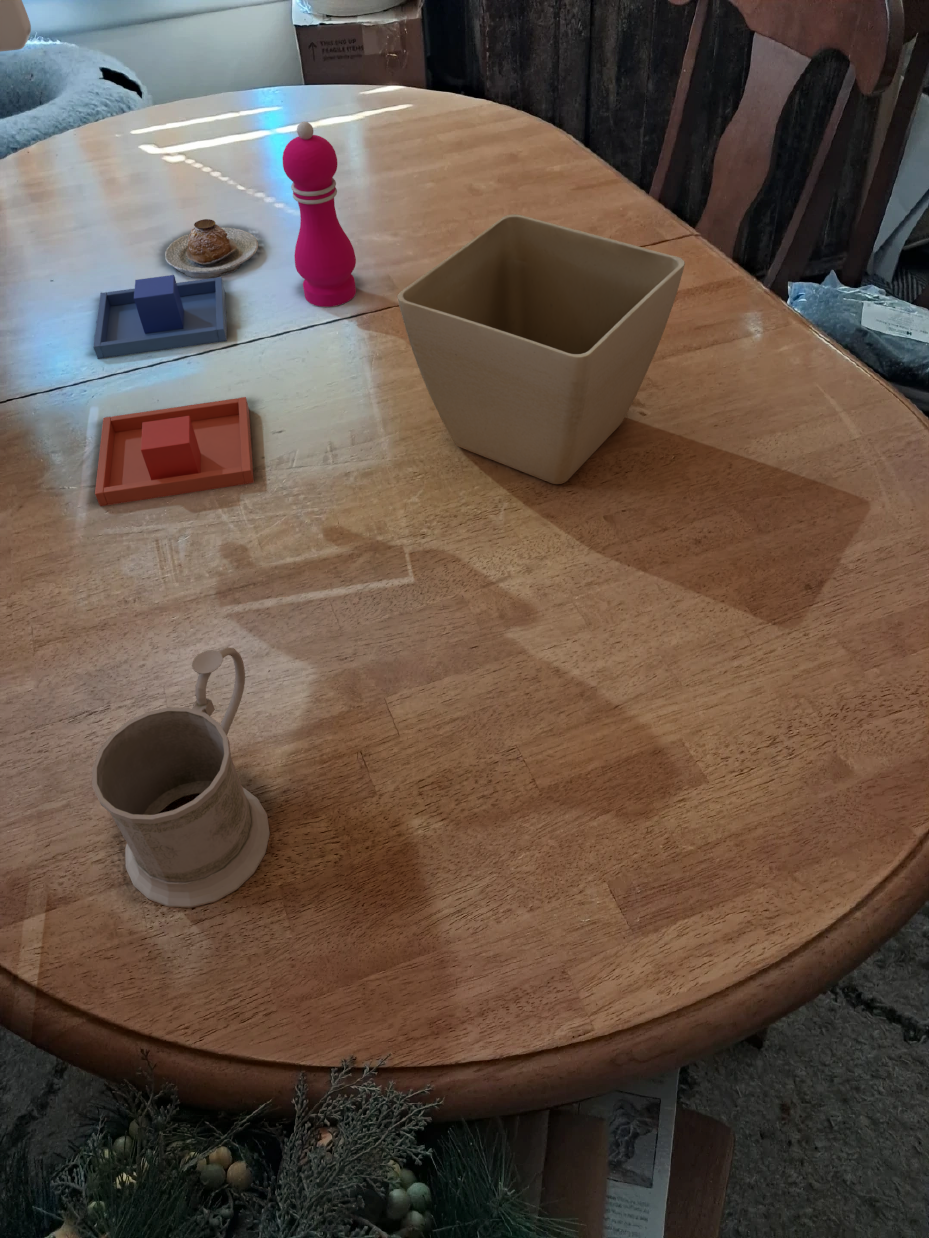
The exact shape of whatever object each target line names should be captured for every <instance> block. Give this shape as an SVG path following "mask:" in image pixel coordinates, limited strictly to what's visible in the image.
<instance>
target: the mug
mask: <svg viewBox="0 0 929 1238" xmlns="http://www.w3.org/2000/svg"><path fill="white" fill-rule="evenodd" d="M228 656H230V657H231V658H232V661H233V666H234V673H235V674H234V686H233V690H232V694H231V698H230V700H229V702H228V706H227V708H226V710H225V713H224V716H223V718H222V719H221V722H218V721H217V720H216V719H215V718H213V717H212V714H214V711H215V709H216V708H215V706H214V703H213V701H212V699H209V698H207V687H208V682H209V678H210V677H211V675H212V673H213V672H215V671H217V670H218V669H219V668H220V667H221V666H222V664H223V661H224V658H226V657H228ZM191 667H192V670H193V671H194V673H196V674H198V676H197V679H196V683H195V699H196V700H195V701H194V703H193V704H192V707H191V708H190V707H170V706H169V707H163V708H159V709H154V710H150V711H147V712H145V713H143V714H140V715H138V716H135V717H134V718H132V719H130V720H128V721H126V722H125V723H124V724H123V725H121V726H120V727H118V728H117V729H116V730H115V731H113V732H112V733H111V734H110V735H109V736H108V738H107V739H106V740H105V742H104V743H103V744H102V745H101V747H100V748H99V749H98V751H97V754H96V757H95V759H94V762H93V764H92V767H91V787H92V789H93V792H94V794H95V796H96V798H97V800H98V802H99V804H100V806H101V807H102V808H104V809H105V810H106V811H107V812H108V813H110V815H111V817H112V819H113V821H114V823H115V824H116V826H117V828H118V829H119V831H120V833H121V836H122V837H123V839H124V841H125V842H126V845H125V848H124V849H125V853H124V854H125V855H124V857H125V870H126V872H127V874H128V876H129V879H130V881H131V883H132V885H133V887H134V888H136V890H137V891H138V892H140V893H141V894H142V896H144V897H145V898H146V899H147V900H149V901H152V902H155V903H157V904H159V905H162V906H165V907H168V908H189V909H191V908H195V907H199V906H203V905H208V904H211V903H216V902H217V901H219V900H221V899H223V898H225V897H226V896H228V895H230V894H231V893H233V892H235V891H238V889H239V888H241V886H242V885H243V884H244V883H246V882H247V881H248V880H249V879H250V877H252V876H253V875H254V874H255V872H256V871H257V869H258V867H260V866H259V865H260V864H261V862H262V861H263V859H264V857H265V855H266V853H267V850H268V849H267V848H268V843H269V840H270V836H271V833H270V826H269V818H268V813H267V812H266V810H265V809H264V806H263V805H262V803H261V802H260V800H259V798H258V797H257V796H255V795H253V793H251V792H250V791H248V789H246V788H245V787H243V786H242V783H241V780H240V778H239V777H240V776H239V775H238V774H239V773H238V772H237V769H236V767H235V764H234V760H233V758H232V754H231V746H230V745H231V744H230V739H229V737H228V734H229V731H230V729H231V726H232V724H233V721H234V719H235V717H236V714H237V712H238V710H239V706H240V704H241V701H242V698H243V695H244V690H245V683H246V670H245V664H244V659H243V658H242V656H241V654H240V652H238V651H237V650H236V648H235V647H228V646H227V647H224V648H221V649H218V650H214V649H211V650H209V649H208V650H205V651H202V652H200V653H199V654H197V655H196V656H195V657H194V658H193V660H192V664H191ZM196 794H197V796H196V797H195V798H194V799H192V800H191V801H189V802H187V803H185V804H183V805H180V806H179V807H177V808H175V809H171V810H169V811H164V809H166V808H167V807H168V806H169V805H170V804H173V803H174V802H176V801H178V800H179V799H181V798H183V797H188V796H192V795H196ZM198 794H199V795H198ZM162 811H164V812H162Z"/></svg>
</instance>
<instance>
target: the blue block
mask: <svg viewBox="0 0 929 1238" xmlns="http://www.w3.org/2000/svg"><path fill="white" fill-rule="evenodd" d="M177 283H178V282H177V280H176V277H175V274H171V275H170V274H169V275H162V276H155V277H147V278H140V279H135V280H134V289H135V290H134V301H135V304H136V308H137V311H138V314H139V317H140V320H141V323H142V327H143V330H144V333H145V334H146V333H153V332H161V331H168V330H175V329H182V328H183V322H184V309H183V305H182V301H181V298H180V294H179V291H178V287H177Z"/></svg>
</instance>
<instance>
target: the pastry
mask: <svg viewBox="0 0 929 1238" xmlns="http://www.w3.org/2000/svg"><path fill="white" fill-rule="evenodd" d="M258 248H259V242H258V239H257V237H255V235H253V234H252V233H250V232H248V231H246V230H242V229H239V228H233V227H220V226H219V225H218V224H216V221H215V220H214V219H209V218H205V219H203V218H202V219H200V220H197V221H195V222H194V223H193V227H192V229H191V230H190V233H187V234H185V235H182V236H181V237H179V238H176V239H175V240H174V241H172V242H171V243H170V244H169V246H168V247H167V248H166V250H165V252H164V258H165V261H166V263H167V264H168V265H169V266H171V267H172V268H175V269H176V271H178V272H180V273H183V274H184V276H186V277H189V278H198V279H208V278H217V277H221V276H222V275H227V274H231V273H234V272H236V271H237V270H239V269H240V265H241V264H243V263H245V262H247V261H249V259H251V258H252V257H253V256H254V255H255V254H256V252H257V250H258Z"/></svg>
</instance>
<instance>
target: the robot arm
mask: <svg viewBox="0 0 929 1238" xmlns="http://www.w3.org/2000/svg"><path fill="white" fill-rule="evenodd" d="M27 12H28V11H27V10H26V7H25V5H24V2H23V0H0V53H1V52H11V51H18V50H22V49H23V48H24V47H25V46H26V45H27V42H28V40H29V39H30V36H31V33H32V25H31V21H30V18H29V15H28V13H27Z"/></svg>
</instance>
